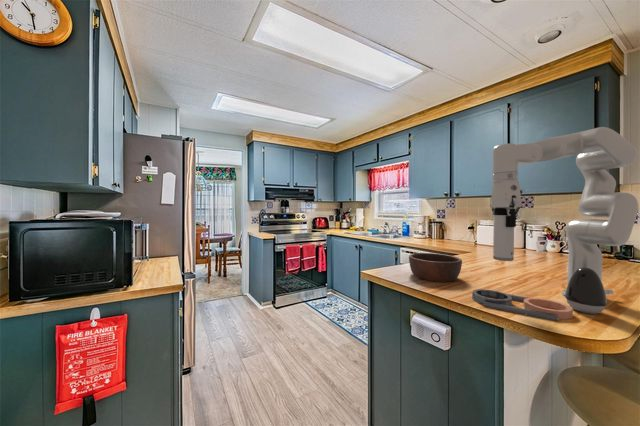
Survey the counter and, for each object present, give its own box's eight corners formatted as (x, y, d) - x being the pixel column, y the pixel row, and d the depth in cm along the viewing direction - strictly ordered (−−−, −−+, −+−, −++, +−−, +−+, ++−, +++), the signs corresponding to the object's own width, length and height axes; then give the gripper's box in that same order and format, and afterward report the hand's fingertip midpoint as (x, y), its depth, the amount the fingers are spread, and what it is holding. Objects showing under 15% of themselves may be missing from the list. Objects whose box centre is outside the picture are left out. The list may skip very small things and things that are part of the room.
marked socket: (549, 305, 96) (550, 298, 95) (582, 319, 83) (583, 311, 83) (515, 304, 96) (515, 297, 96) (543, 318, 84) (543, 311, 84)
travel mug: (518, 261, 93) (518, 206, 93) (497, 260, 95) (498, 206, 94) (509, 258, 99) (510, 206, 99) (490, 257, 101) (490, 206, 100)
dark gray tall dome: (559, 308, 92) (560, 266, 92) (571, 303, 97) (572, 263, 97) (600, 319, 83) (602, 272, 83) (610, 313, 88) (612, 269, 88)
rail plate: (470, 303, 96) (470, 296, 96) (475, 292, 110) (475, 286, 109) (557, 321, 82) (558, 313, 82) (551, 305, 95) (551, 298, 95)
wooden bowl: (453, 272, 143) (454, 254, 142) (468, 286, 118) (469, 263, 118) (406, 269, 148) (406, 251, 148) (411, 281, 124) (411, 260, 124)
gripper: (533, 175, 87) (532, 228, 88) (500, 180, 105) (499, 224, 105) (510, 175, 88) (509, 228, 88) (481, 180, 105) (480, 224, 105)
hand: (504, 225), depth 97 cm, fingers closed on travel mug, 6 cm apart
